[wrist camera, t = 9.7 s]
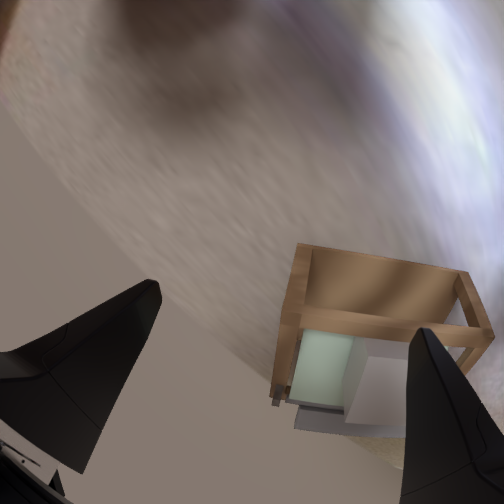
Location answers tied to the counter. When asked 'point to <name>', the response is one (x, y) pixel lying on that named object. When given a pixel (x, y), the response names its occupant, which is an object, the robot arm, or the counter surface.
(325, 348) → the trapdoor
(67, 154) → the counter surface
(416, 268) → the frame
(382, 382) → the stone
